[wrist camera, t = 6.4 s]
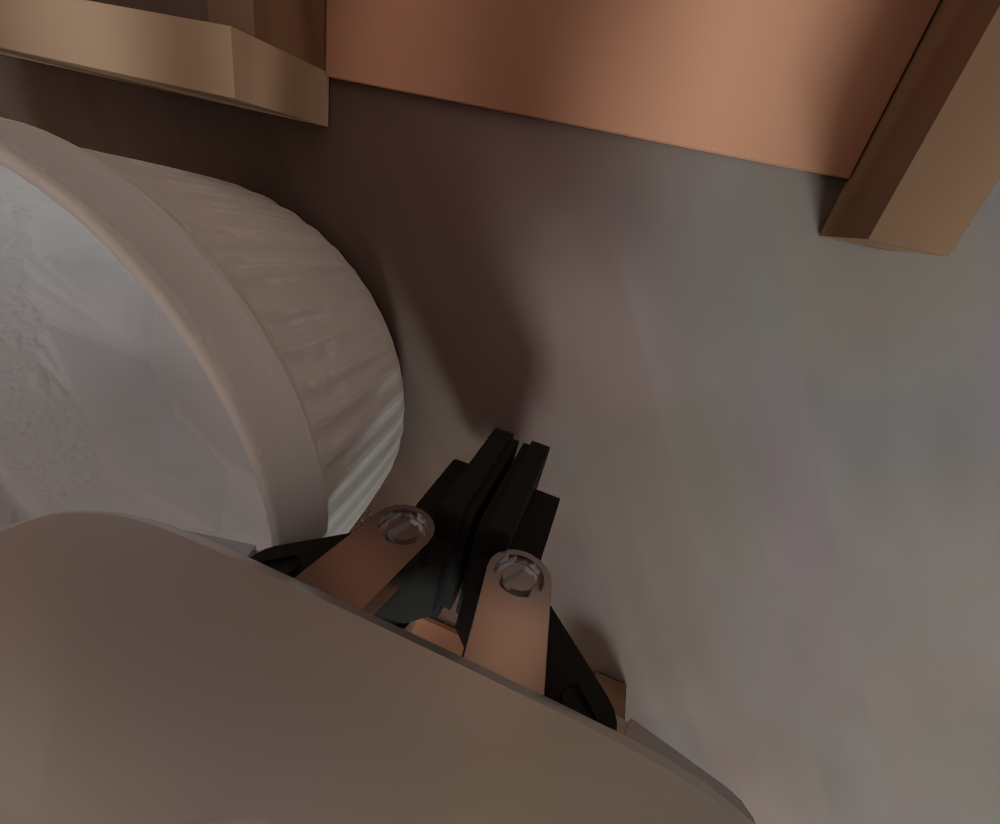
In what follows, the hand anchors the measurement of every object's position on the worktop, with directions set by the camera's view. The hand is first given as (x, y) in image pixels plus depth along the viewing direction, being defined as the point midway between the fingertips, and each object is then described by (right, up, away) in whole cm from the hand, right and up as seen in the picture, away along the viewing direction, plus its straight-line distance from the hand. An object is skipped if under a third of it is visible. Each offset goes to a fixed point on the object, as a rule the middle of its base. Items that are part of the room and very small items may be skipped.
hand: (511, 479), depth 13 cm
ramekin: (-8, +4, +3) cm, 10 cm away
